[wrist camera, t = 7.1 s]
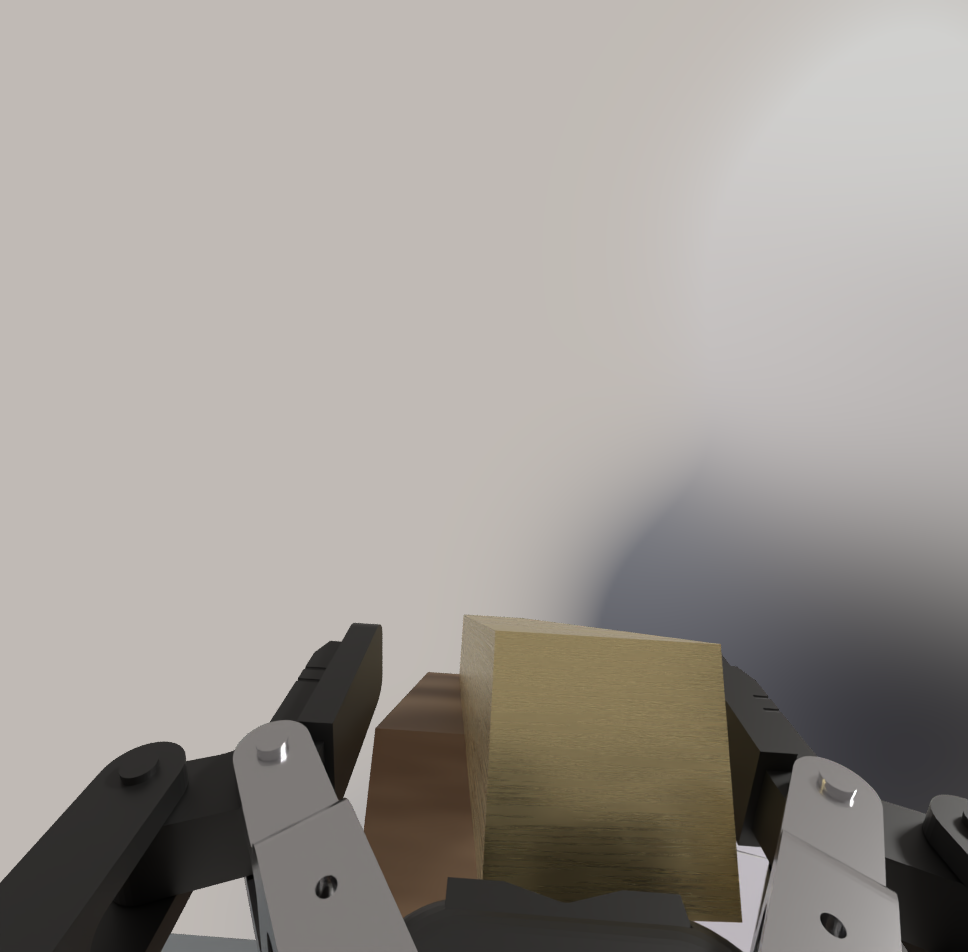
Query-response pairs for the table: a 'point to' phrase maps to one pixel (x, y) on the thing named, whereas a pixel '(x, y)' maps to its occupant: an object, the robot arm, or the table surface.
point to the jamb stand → (421, 795)
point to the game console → (745, 898)
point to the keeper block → (207, 944)
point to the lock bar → (599, 763)
